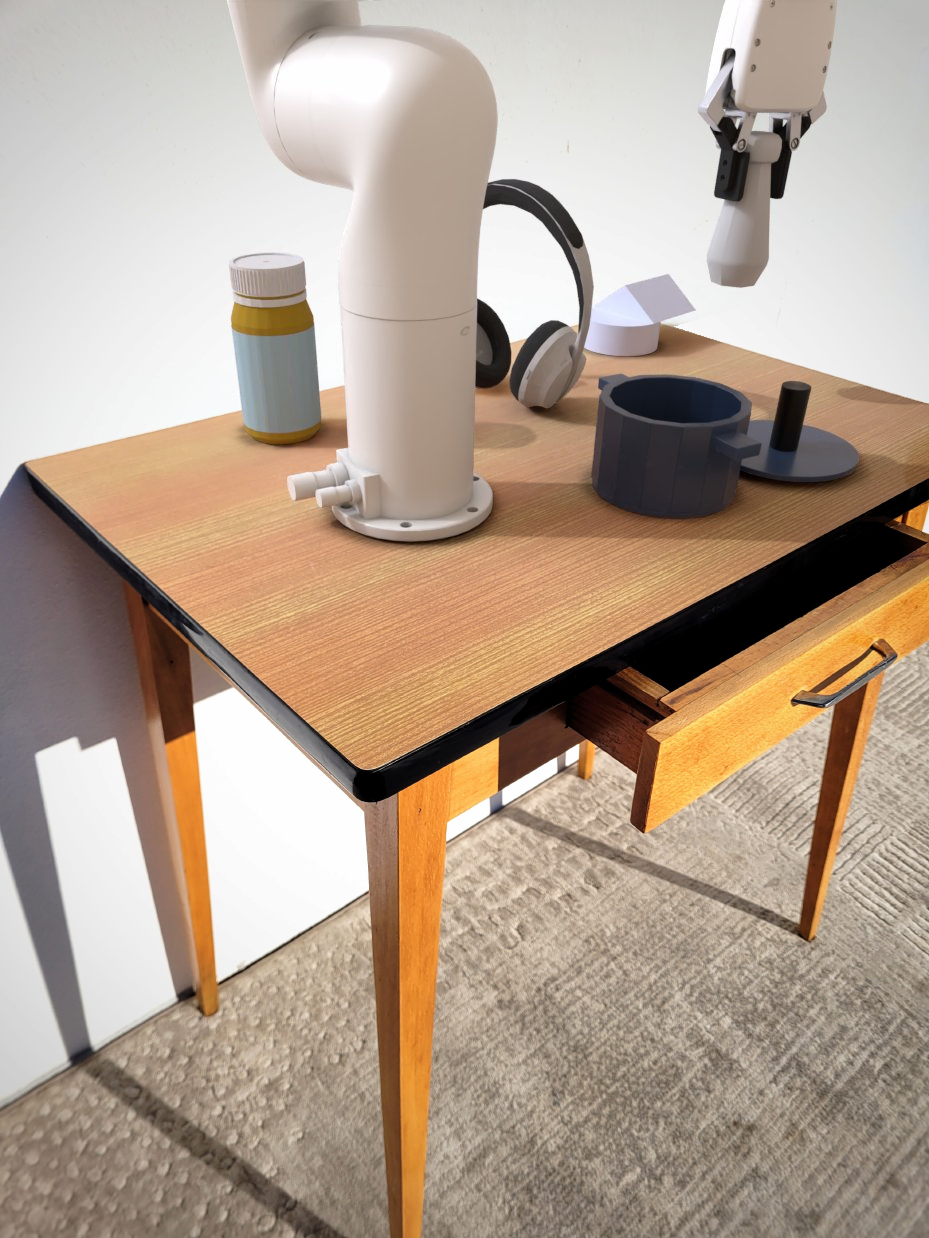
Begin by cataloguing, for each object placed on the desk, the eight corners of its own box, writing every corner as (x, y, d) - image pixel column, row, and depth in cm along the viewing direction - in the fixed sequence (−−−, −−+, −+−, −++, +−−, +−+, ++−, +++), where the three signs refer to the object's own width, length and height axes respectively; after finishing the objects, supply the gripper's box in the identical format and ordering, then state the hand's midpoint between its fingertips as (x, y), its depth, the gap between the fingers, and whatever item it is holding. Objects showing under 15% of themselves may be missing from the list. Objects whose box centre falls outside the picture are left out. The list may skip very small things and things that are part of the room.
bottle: (302, 412, 89) (287, 248, 80) (335, 436, 84) (323, 264, 75) (233, 426, 85) (211, 256, 77) (263, 452, 81) (242, 274, 72)
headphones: (606, 412, 90) (629, 188, 79) (549, 434, 85) (565, 199, 74) (467, 365, 101) (470, 164, 90) (410, 382, 96) (406, 172, 85)
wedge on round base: (631, 322, 116) (564, 343, 108) (637, 267, 112) (569, 284, 105) (691, 338, 111) (626, 361, 103) (700, 280, 107) (633, 300, 99)
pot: (672, 546, 67) (688, 450, 63) (547, 461, 80) (553, 377, 76) (789, 514, 72) (810, 423, 68) (654, 438, 85) (665, 357, 80)
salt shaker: (758, 277, 92) (787, 130, 84) (768, 291, 87) (800, 136, 80) (699, 274, 92) (722, 127, 85) (706, 287, 87) (731, 133, 80)
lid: (779, 500, 74) (797, 422, 70) (678, 445, 83) (689, 373, 80) (888, 471, 79) (909, 397, 76) (781, 422, 88) (796, 354, 85)
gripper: (830, -37, 82) (785, 188, 91) (681, -50, 75) (650, 196, 84) (899, -40, 76) (843, 200, 86) (746, -54, 69) (704, 209, 79)
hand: (748, 195), depth 85 cm, fingers closed on salt shaker, 4 cm apart
